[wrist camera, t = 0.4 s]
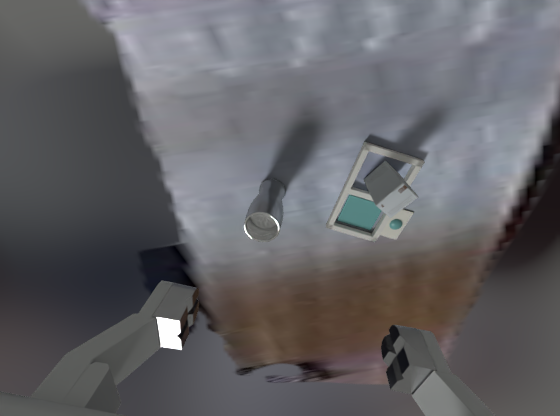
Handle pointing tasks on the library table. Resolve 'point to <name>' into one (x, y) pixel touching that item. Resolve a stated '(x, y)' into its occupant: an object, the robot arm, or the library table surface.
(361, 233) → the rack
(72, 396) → the robot arm
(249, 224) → the beer glass
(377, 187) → the skincare box
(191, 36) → the library table surface
